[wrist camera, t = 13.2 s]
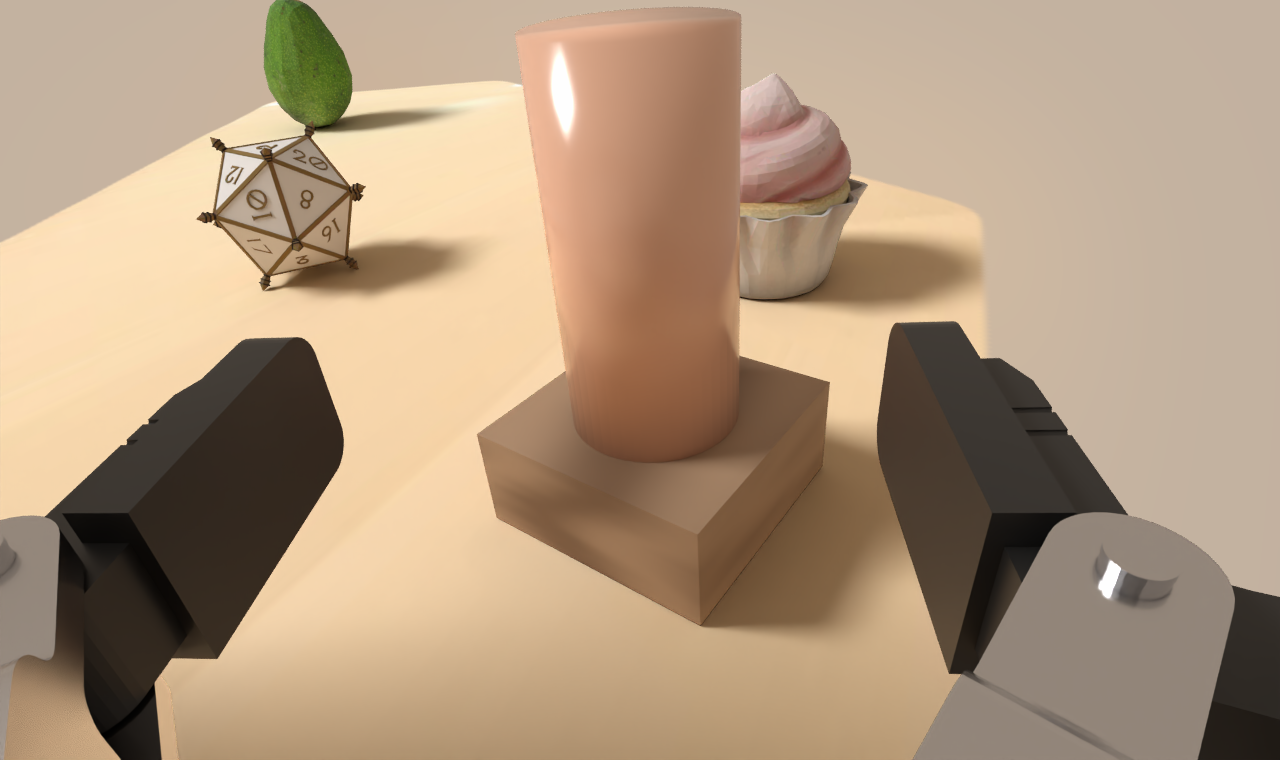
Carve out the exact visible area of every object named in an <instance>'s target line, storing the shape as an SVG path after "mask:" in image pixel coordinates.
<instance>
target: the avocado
mask: <svg viewBox="0 0 1280 760" xmlns="http://www.w3.org/2000/svg"><path fill="white" fill-rule="evenodd" d="M264 70H265V74H266V78H267V82H268V86H269V89H270V91H271V93H272V94H273V96H274V97H275V99H276V100H277V102H278V104H279V105H280V107H281V108H282V109H283V110H284V111H285V112H286V113H287V114H289V115H290V116H291V117H292V118H293V119H294V120H296V121H298V122H300V123H302V124H304V125H308V124H309V123H310V122H311V121H313V124H314V127H320V126H326V125H330V124H333V123H334V122H336V121H337V120H338V119H339V118H340V117H341V116H342V115H343V114H344V112H345V111H346V109H347V107H348V105H349V103H350V100H351V95H352V75H351V72H350V69H349V66H348V63H347V60H346V58H345V55H344V53H343V51H342V49H341V48H340V46H339V45H338V43H337V42H336V40H335V38H334V37H333V35H332V34H331V32H330V31H329V30H328V29H327V27H326V26H325V24H324V23H323V22H322V20H321V19H320V17H319V16H318V15H317V13H316V12H315V11H314V10H313V9H312V8H311V7H309V6H308V5H307V4H305V3H303V2H301V1H299V0H276V1H275V2H274V3H273V4H272V5H271V6H270V9H269V13H268V16H267V22H266V34H265V43H264Z"/></svg>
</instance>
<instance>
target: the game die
mask: <svg viewBox="0 0 1280 760" xmlns="http://www.w3.org/2000/svg"><path fill="white" fill-rule="evenodd" d="M305 126H306V129H305V135H304V136H298V137H292V138H286V139H280V140H274V141H268V142H261V143H255V144H249V145H243V146H237V147H231V148H226V147H225V146H224V143H222V142H221V140H220V139H215V138H212V137H210V138H211V141H212V144H213V146H212V147H215V148H216V150H219V151H221V152H222V159H221V165H220V172H219V178H218V184H217V190H216V196H215V202H214V209H213V213H209V212H207V213H204V212H202V214H201V215H200V216H199V217H198V218H197V220H200V221H202V222H203V223H207V222H212V221H213V220H215V223H214V224H213V225H215V226H217V227H219V228H222V229H223V230H224V231H225V232H226V233H227V234H228V235H229V236H230V237H231V239H232V240H233V241H234V242H235V243H236V244H237V245H238V246H239V247H240V248H241V249H242V251H243V252H244V253H245V254H246V255H247V256H248V257H249V258H250V259H251V260H252V262H253V263H254V264H255V265H256V266H257V267H258V268H259V269H260V270H261V271H262V273H263V274H264V276H263V278H261V282H259V283H260V284H261V287H262V290H263V291H264V290H265V289H266V288H267V287H268V286H270V285H269V283H270V282H271V281H270V277H271V276H273V275H278V274H282V273H287V272H291V271H296V270H300V269H305V268H309V267H314V266H318V265H323V264H327V263H332V262H336V261H341V260H345V261H346V263H347V264H348V265H349V266H350V267H352V268H355V269H358V266H357V263H356V261H355V260H353V258H350V257H349V256H348V248H349V236H350V223H351V211H352V200H354V201H356V200H358V201H359V200H360V199H361V198H362V197H363V196H364V195H362V194H360V193H361V192H363V189H364V188H365V187H366V186H363V185H361V184H359V183H356V184H353V186H351V187H350V185H349V184H348V183H347V182H346V180H345V179H344V178H343V177H342V175H341V174H340V173H339V172H338V171H337V169H336V168H335V167H334V166H333V164H332V163H331V162H330V161H329V159H328V158H327V157H326V156H325V154H324V153H323V152H322V151H321V150H320V148H319V147H318V146H317V145H316V143H315V142H314V141H313V140H312V138H311V136H312V135H313V134H315V133H314V131H315V130H316V129H315V127H314V124H313V121H311V122H310V123H309V124H308V125H305Z"/></svg>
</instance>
